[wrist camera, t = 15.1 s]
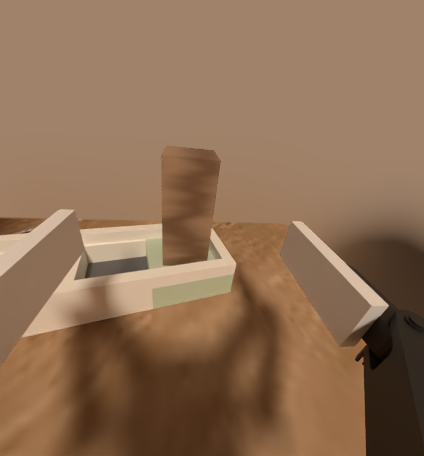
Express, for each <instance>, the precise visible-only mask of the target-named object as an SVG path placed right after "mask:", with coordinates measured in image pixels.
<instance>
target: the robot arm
mask: <svg viewBox="0 0 424 456" xmlns="http://www.w3.org/2000/svg"><path fill="white" fill-rule="evenodd" d="M84 250H85V248H84V244H83V240H82V236H81V232H80V228H79V224H78V220H77V217H76V213H75V210H64V209H59V210H58V211H57V212H56V213H54V214H53V215H52V216H50V217H49V218H48V219H47V220H45V221H44V222H43V223H41V224H40V225H39V226H38V227H36V228H35V229H34V230H33V231H31V232H30V233H29V234H27V235H26V236H25V237H24V238H22V239H21V240H20V241H18V242H17V243H16V244H15V245H13V246H12V247H11V248H9V249H8V250H7V251H6V252H4V253H3V254H2V255H1V256H0V366H1V364H2V363H3V362H4V360H5V359H6V357H7V356H8V355H9V353H10V352H11V351H12V349H13V348H14V346H15V345H16V344H17V342H18V341H19V340H20V338H21V337H22V335H23V334H24V333H25V331H26V330H27V329H28V327H29V326H30V324H31V323H32V322H33V320H34V319H35V318H36V316H37V315H38V313H39V312H40V311H41V309H42V308H43V307H44V305H45V304H46V302H47V301H48V300H49V298H50V297H51V296H52V294H53V293H54V291H55V290H56V289H57V287H58V286H59V285H60V283H61V282H62V280H63V279H64V278H65V276H66V275H67V274H68V272H69V271H70V269H71V268H72V267H73V265H74V264H75V263H76V261H77V260H78V258H79V257H80V256H81V254H82V253H83V252H84ZM280 256H281V257H282V259H283V260H284V262H285V263H286V265H287V266H288V268H289V269H290V271H291V273H292V274H293V276H294V277H295V279H296V280H297V282H298V283H299V285H300V286H301V288H302V290H303V291H304V293H305V294H306V296H307V297H308V299H309V300H310V302H311V303H312V305H313V307H314V308H315V310H316V311H317V313H318V314H319V316H320V317H321V319H322V320H323V322H324V324H325V325H326V327H327V328H328V330H329V331H330V333H331V334H332V336H333V337H334V339H335V341H336V342H337V344H338V345H339V347H349V346H355V345H356V344H357V343H358V342H359V341H360V339H361V338H362V339H363V340H364V341H365V343H366V344H367V345H366V346H365V347H364V348H363V349H362V351H361V352H360V353H359V354H358V355H357V356H356V359H355V360H356V361H357V362H358V361H359V360H360V359H361V358H362V357H364V362H363V363H362V364H363V365H364V391H365V428H366V456H424V318H422V317H421V316H419V315H417V314H415V313H413V312H410V311H407V310H398V309H397V308H396V307H395V306H394V305H393V304H392V303H391V302H390V301H389V300H388V299H387V298H386V297H385V296H383V295H382V294H381V293H380V292H379V291H378V290H377V289H376V288H375V287H374V286H372V285H371V283H370V282H369V281H368V280H366V279H364V277H363V276H362V275H361V274H360V273H359V272H358V271H357V270H356V269H353V268H352V267H351V266H349V265H348V264H346V263H344V262H343V261H342V260H341V259H340V258H339V257H338V256H337V255H336V254H335V253H334V252H333V251H332V250H331V249H330V248H329V247H328V246H327V245H326V244H325V243H324V242H323V241H322V240H320V239H319V238H318V237H317V236H316V235H315V234H314V233H313V232H312V231H311V230H310V229H309V228H308V227H307V226H306V225H305V224H304V223H303V222H297V221H291V224H290V227H289V229H288V232H287V235H286V238H285V241H284V243H283V246H282V249H281V252H280Z"/></svg>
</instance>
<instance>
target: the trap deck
mask: <svg viewBox="0 0 424 456" xmlns="http://www.w3.org/2000/svg"><path fill="white" fill-rule="evenodd" d="M80 232H81V236H82V240H83V244H84V248H85V250H84V252H83V253H82V254H81V256H80V257H79V258H78V260H77V261H76V263H75V264H74V265H73V267H72V268H71V269H70V271H69V272H68V274H67V275H66V276H65V278H64V279H63V280H62V282H61V283H60V285H59V286H58V287H57V289H56V290H55V291H54V293H53V294H52V296H51V297H50V298H49V300H48V301H47V302H46V304H45V305H44V307H43V308H42V309H41V311H40V312H39V313H38V315H37V316H36V318H35V319H34V320H33V322H32V323H31V324H30V326H29V327H28V329H27V330H26V331H25V333H24V334H23V335H22V337H26V336H31V335H35V334H40V333H45V332H49V331H54V330H58V329H63V328H68V327H72V326H77V325H81V324H86V323H91V322H95V321H100V320H105V319H109V318H114V317H118V316H123V315H128V314H132V313H137V312H141V311H146V310H151V309H155V308H160V307H164V306H169V305H174V304H178V303H183V302H187V301H192V300H197V299H201V298H206V297H210V296H215V295H220V294H224V293H229V292H230V290H231V285H232V281H233V277H234V272H235V268H236V262H235V261H234V260H233V258H232V257H231V255H230V254H229V252H228V251H227V249H226V248H225V246H224V245H223V243H222V242H221V240H220V239H219V237H218V236H217V235H216V233H215V232H214V230H213V229H211V236H210V244H209V251H208V259H207V261H202V262H195V263H188V264H182V265H175V266H163V254H162V224H153V225H139V226H125V227H110V228H96V229H82V230H80ZM27 234H29V233H26V234H12V235H0V256H1V255H2V254H3V253H4V252H6V251H7V250H8V249H9V248H11V247H12V246H13V245H15V244H16V243H17V242H18V241H20V240H21V239H22V238H24V237H25V236H26V235H27ZM22 337H21V338H22Z"/></svg>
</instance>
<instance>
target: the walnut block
mask: <svg viewBox="0 0 424 456" xmlns="http://www.w3.org/2000/svg"><path fill="white" fill-rule="evenodd" d="M161 167H162V168H161V170H162V254H163V266H175V265H182V264H188V263H195V262H202V261H207V259H208V251H209V244H210V236H211V229H212V221H213V214H214V206H215V199H216V191H217V184H218V176H219V169H220V159H219V158H218V156H217V155H216V153H215V152H214V151H213V150H203V149H194V148H185V147H184V148H183V147H175V146H166V148H165V149H164V151H163V153H162V155H161Z"/></svg>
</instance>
